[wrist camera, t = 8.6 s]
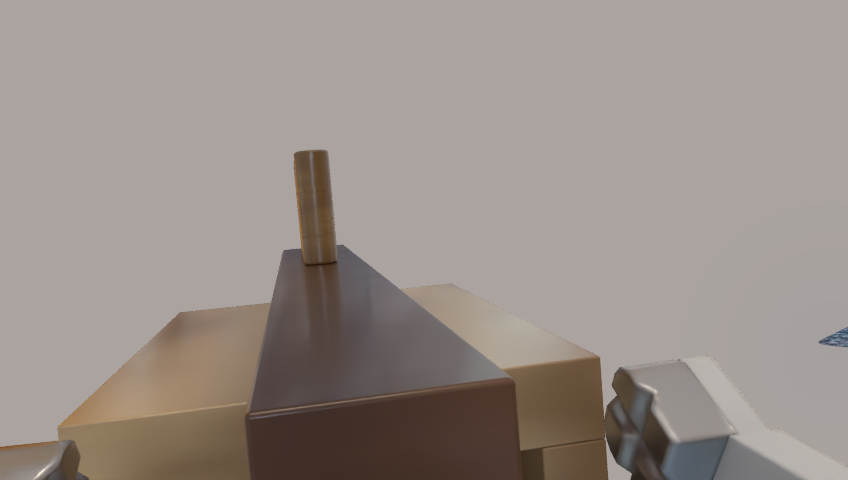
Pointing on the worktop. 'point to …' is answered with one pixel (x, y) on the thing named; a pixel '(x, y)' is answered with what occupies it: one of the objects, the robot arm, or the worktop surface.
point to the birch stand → (233, 376)
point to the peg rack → (367, 372)
